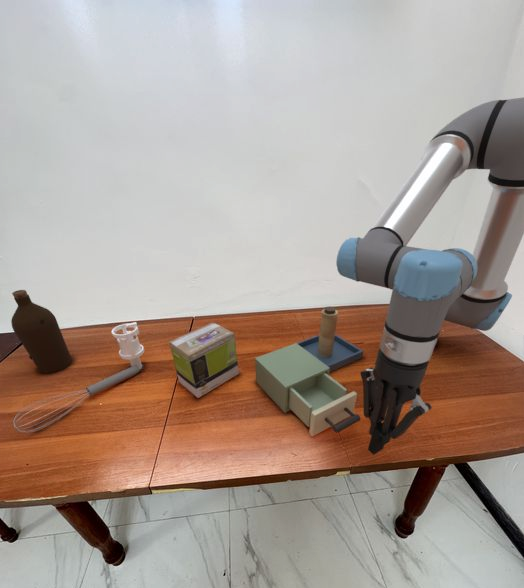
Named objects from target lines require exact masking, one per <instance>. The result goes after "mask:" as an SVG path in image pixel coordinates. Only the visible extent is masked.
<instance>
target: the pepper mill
mask: <svg viewBox="0 0 524 588" xmlns="http://www.w3.org/2000/svg"><path fill="white" fill-rule="evenodd" d="M338 316H339V311H338V310H337V309H336V307H334V306H325V307H324V308H323V309H322V310H321V314H320V325H319V333H318V335H319V343H318V355H319V356H321V357H325V358H327V357H331V356H332V354H333V347H334V339H335V334H336V331H337V324H338Z"/></svg>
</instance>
